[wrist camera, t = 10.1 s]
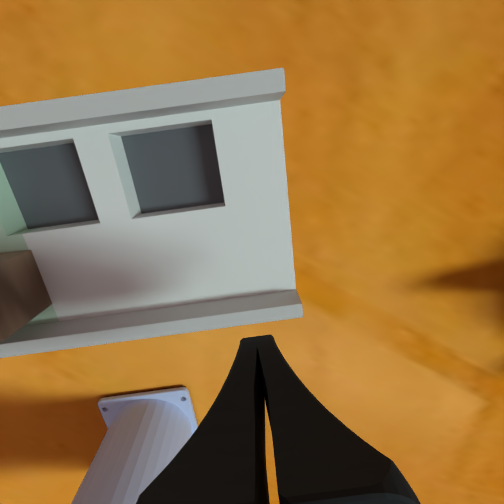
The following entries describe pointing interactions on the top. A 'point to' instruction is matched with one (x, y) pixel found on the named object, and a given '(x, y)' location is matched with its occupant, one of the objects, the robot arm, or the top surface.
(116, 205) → the tray
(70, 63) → the top surface
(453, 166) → the top surface
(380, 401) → the top surface
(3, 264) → the walnut block
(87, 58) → the top surface
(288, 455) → the robot arm
